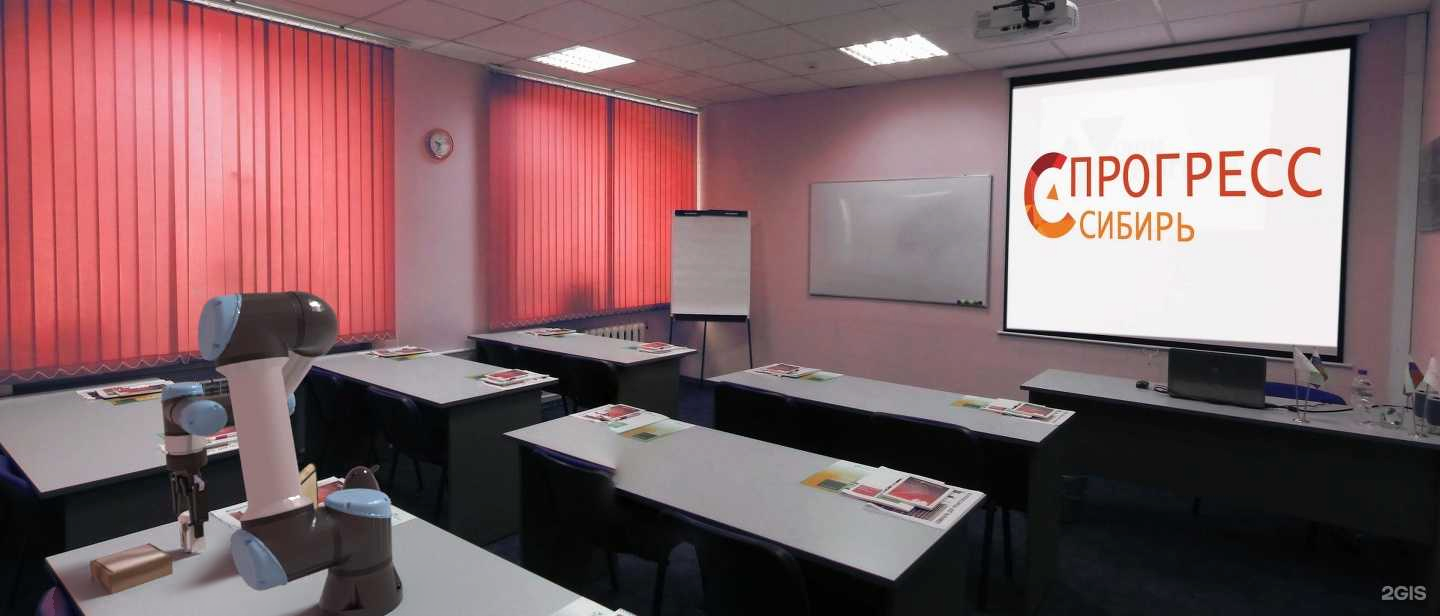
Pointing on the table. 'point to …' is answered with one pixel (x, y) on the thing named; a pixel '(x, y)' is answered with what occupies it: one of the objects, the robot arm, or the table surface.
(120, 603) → the table surface
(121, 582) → the dock
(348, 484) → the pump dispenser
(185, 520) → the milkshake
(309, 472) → the clutch purse
